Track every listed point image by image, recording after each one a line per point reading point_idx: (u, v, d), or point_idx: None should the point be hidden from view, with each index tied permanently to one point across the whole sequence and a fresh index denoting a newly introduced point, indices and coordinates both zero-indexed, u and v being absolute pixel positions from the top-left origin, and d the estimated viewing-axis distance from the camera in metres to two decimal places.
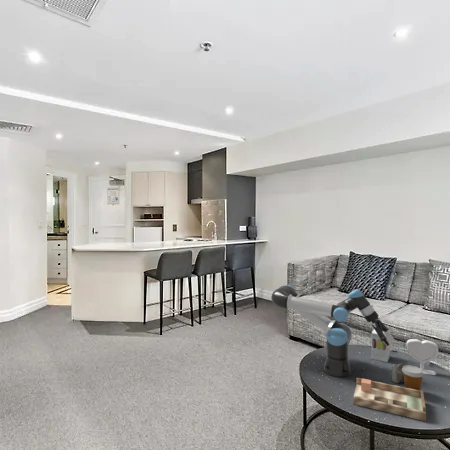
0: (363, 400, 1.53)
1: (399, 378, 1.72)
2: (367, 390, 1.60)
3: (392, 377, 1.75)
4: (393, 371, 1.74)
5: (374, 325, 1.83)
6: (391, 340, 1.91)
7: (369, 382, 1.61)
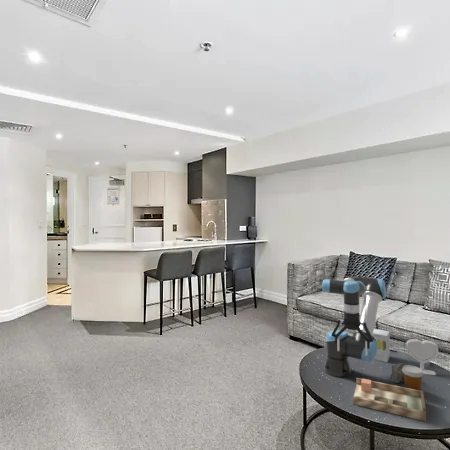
0: (363, 400, 1.53)
1: (399, 378, 1.72)
2: (367, 390, 1.60)
3: (392, 377, 1.75)
4: (393, 371, 1.74)
5: (338, 320, 1.68)
6: None
7: (369, 382, 1.61)
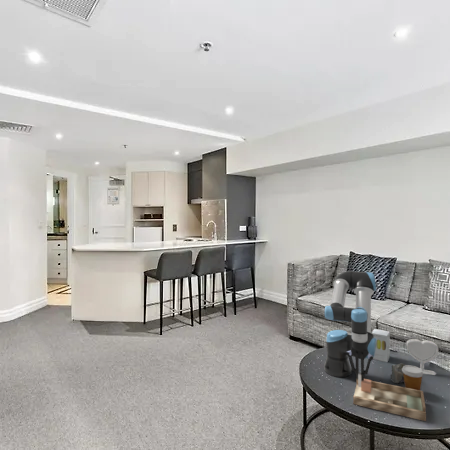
0: (363, 400, 1.53)
1: (399, 378, 1.72)
2: (367, 390, 1.60)
3: (392, 377, 1.75)
4: (393, 371, 1.74)
5: None
6: None
7: (369, 382, 1.61)
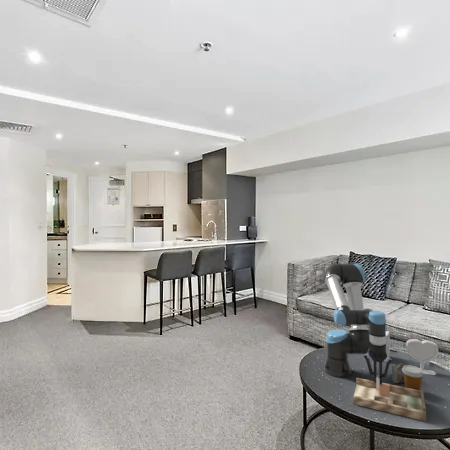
0: (363, 400, 1.53)
1: (399, 378, 1.72)
2: (386, 394, 1.56)
3: (392, 377, 1.74)
4: (393, 371, 1.74)
5: None
6: None
7: (388, 386, 1.57)
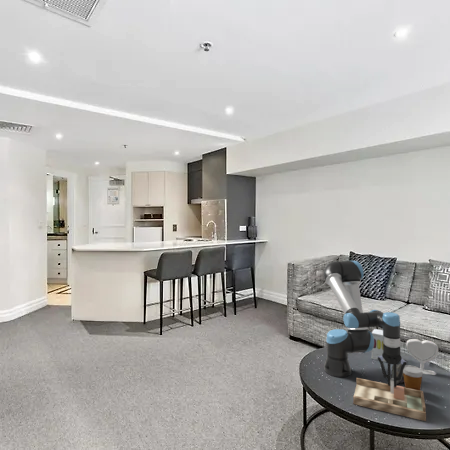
0: (363, 400, 1.53)
1: None
2: (400, 397, 1.53)
3: (392, 377, 1.74)
4: (393, 371, 1.74)
5: None
6: None
7: (402, 389, 1.54)
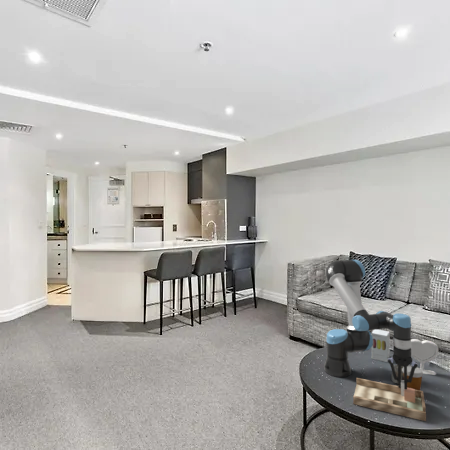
0: (363, 400, 1.53)
1: None
2: (411, 400, 1.51)
3: (392, 377, 1.74)
4: None
5: None
6: None
7: (413, 391, 1.52)
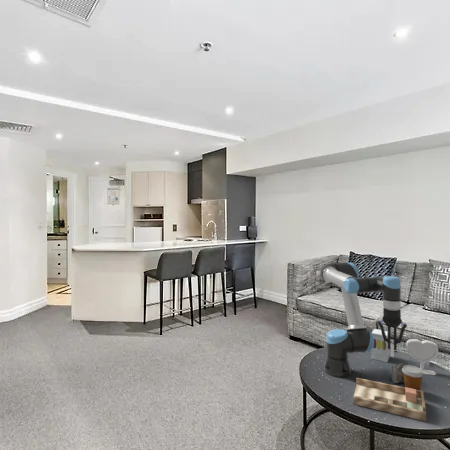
0: (363, 400, 1.53)
1: (399, 378, 1.71)
2: (412, 400, 1.51)
3: (392, 377, 1.74)
4: (393, 371, 1.74)
5: None
6: None
7: (414, 391, 1.52)
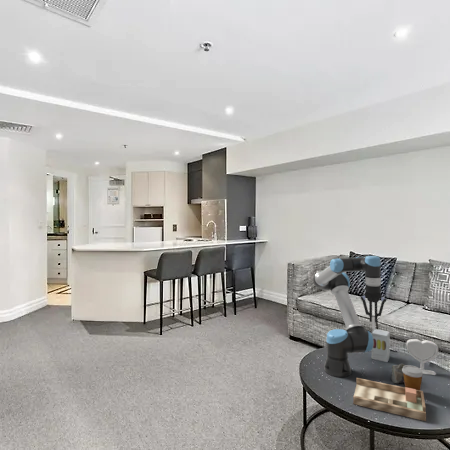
0: (363, 400, 1.53)
1: (399, 379, 1.71)
2: (412, 400, 1.51)
3: (392, 377, 1.74)
4: (393, 372, 1.74)
5: None
6: None
7: (414, 391, 1.52)
